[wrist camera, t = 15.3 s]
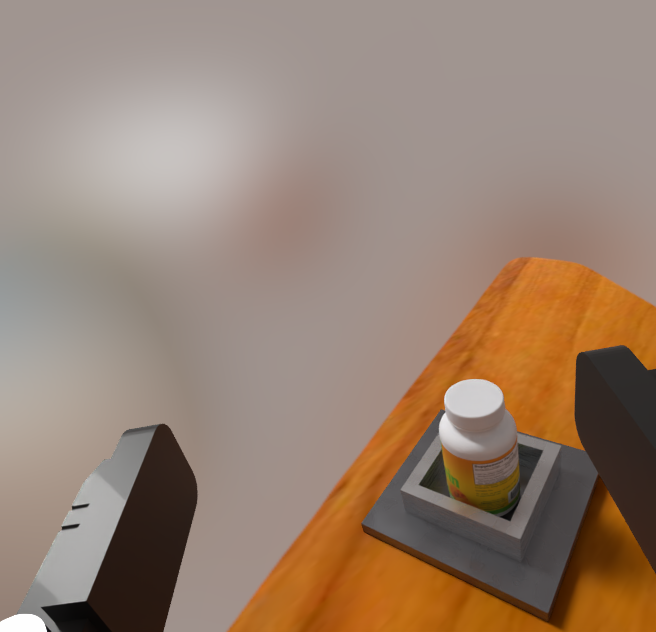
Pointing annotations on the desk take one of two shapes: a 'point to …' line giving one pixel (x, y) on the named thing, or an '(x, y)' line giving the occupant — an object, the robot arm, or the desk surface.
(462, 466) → the supplement bottle
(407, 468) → the socket plate
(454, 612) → the desk surface
